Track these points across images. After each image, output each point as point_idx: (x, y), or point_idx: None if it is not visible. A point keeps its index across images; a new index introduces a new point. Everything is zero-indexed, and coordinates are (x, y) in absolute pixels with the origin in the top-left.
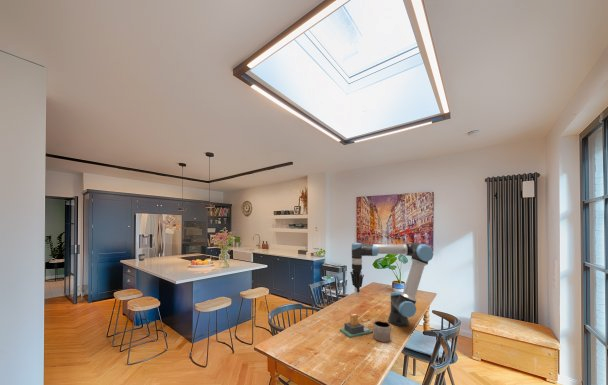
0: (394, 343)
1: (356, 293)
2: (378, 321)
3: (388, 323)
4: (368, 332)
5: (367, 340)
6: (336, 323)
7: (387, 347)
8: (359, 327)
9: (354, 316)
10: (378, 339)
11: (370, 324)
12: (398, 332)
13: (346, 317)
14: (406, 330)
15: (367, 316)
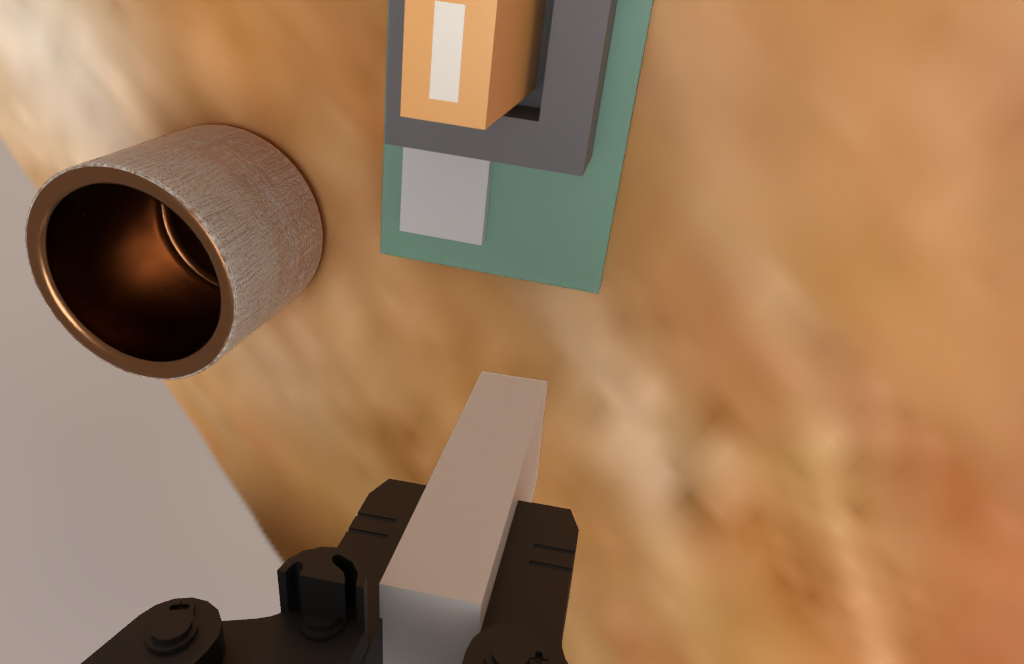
0: None
1: (454, 430)
2: (219, 312)
3: (122, 364)
4: (383, 180)
5: (259, 16)
6: (929, 7)
7: (62, 98)
8: (391, 55)
9: (410, 19)
10: (185, 128)
11: (581, 415)
12: (294, 477)
13: (967, 336)
14: None
15: (775, 573)
